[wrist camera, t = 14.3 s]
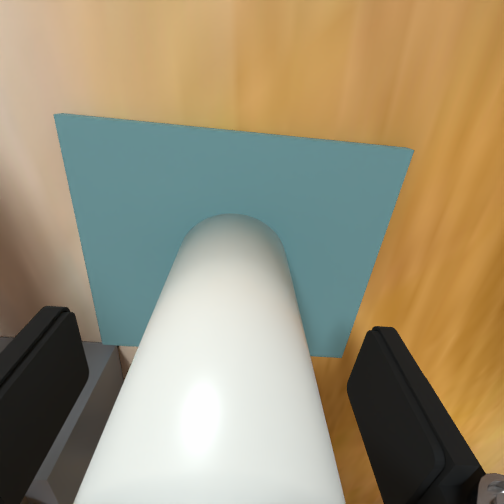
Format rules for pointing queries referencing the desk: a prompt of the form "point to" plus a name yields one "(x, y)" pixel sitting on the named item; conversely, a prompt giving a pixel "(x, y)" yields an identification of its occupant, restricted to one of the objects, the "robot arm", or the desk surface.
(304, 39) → the desk surface
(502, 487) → the robot arm
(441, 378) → the desk surface
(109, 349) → the plunger housing
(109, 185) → the pad
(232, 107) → the desk surface
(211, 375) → the cylinder
